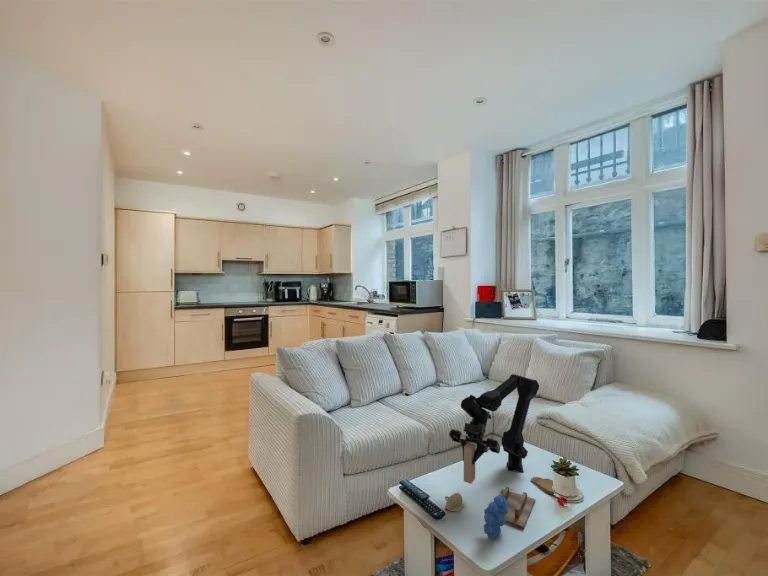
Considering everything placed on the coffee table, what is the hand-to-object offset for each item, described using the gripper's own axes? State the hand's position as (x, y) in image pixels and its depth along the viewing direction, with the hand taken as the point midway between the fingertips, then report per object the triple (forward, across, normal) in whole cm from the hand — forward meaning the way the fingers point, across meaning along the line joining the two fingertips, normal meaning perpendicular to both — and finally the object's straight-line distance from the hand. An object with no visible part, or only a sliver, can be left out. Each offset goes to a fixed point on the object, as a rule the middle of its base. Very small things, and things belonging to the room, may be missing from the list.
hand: (468, 462), depth 135 cm
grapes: (+19, +14, 0) cm, 23 cm away
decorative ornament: (+16, -2, +4) cm, 16 cm away
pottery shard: (-8, +24, +28) cm, 37 cm away
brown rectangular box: (+4, 0, +6) cm, 7 cm away
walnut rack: (+7, +15, +12) cm, 21 cm away
